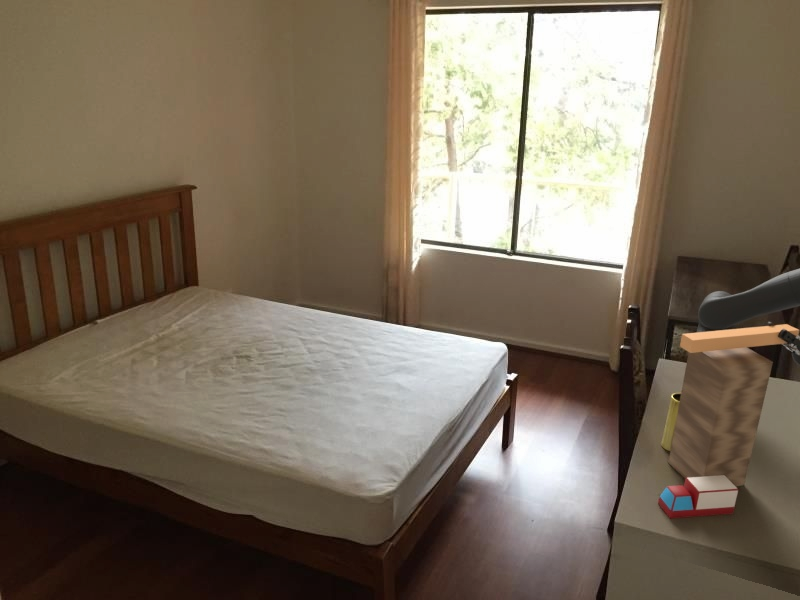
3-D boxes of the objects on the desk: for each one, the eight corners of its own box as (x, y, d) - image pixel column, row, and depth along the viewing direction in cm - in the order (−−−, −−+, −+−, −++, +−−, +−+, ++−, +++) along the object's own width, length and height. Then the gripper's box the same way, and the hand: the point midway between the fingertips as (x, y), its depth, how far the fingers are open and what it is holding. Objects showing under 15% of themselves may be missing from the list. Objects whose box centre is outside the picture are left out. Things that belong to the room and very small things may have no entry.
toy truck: (657, 503, 149) (661, 478, 146) (719, 498, 151) (724, 474, 148) (669, 519, 144) (674, 493, 141) (733, 514, 145) (739, 489, 143)
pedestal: (709, 456, 166) (734, 340, 155) (744, 485, 155) (772, 361, 144) (668, 463, 163) (690, 344, 152) (700, 492, 152) (726, 367, 141)
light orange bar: (784, 336, 153) (786, 324, 152) (796, 342, 150) (799, 330, 149) (679, 346, 146) (682, 333, 145) (690, 353, 143) (692, 340, 142)
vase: (685, 442, 172) (694, 394, 167) (686, 455, 167) (696, 405, 162) (660, 438, 174) (669, 390, 169) (661, 450, 169) (669, 401, 164)
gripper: (804, 332, 161) (760, 304, 155) (854, 357, 148) (809, 327, 142) (785, 358, 163) (741, 330, 156) (833, 384, 150) (788, 356, 143)
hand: (774, 329), depth 149 cm, fingers closed on light orange bar, 3 cm apart
